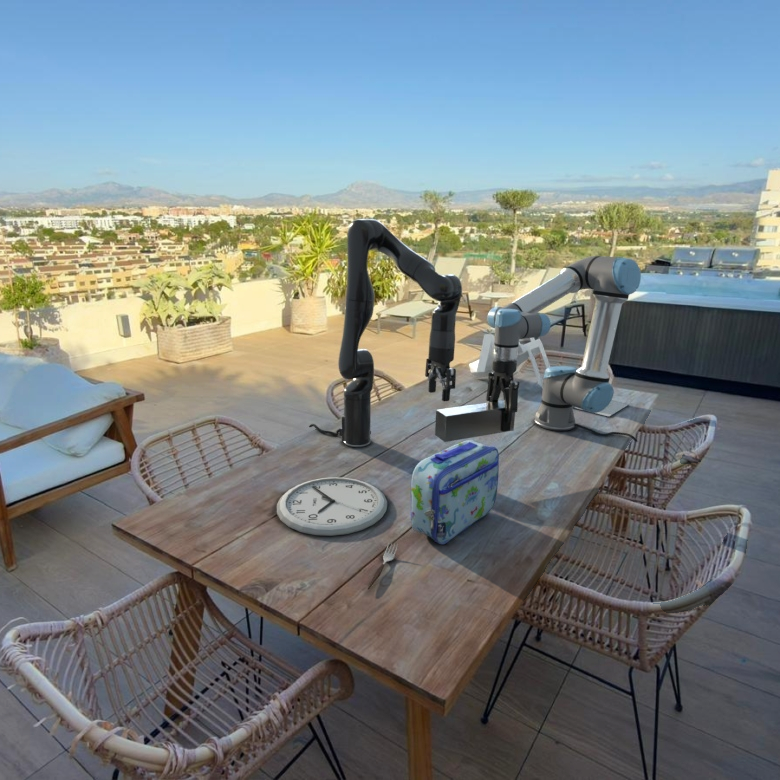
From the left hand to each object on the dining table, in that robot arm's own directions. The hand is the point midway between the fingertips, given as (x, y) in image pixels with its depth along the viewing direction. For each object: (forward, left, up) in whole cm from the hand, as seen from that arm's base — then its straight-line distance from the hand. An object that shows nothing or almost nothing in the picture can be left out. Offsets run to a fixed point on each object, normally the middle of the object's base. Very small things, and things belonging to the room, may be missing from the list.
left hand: (438, 396), depth 159 cm
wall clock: (-14, -36, -24) cm, 45 cm away
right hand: (+14, +19, -13) cm, 27 cm away
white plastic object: (-11, +103, -24) cm, 106 cm away
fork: (+13, -53, -24) cm, 59 cm away
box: (+8, +11, -14) cm, 20 cm away
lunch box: (+19, -27, -24) cm, 41 cm away
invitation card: (+34, +94, -24) cm, 102 cm away
